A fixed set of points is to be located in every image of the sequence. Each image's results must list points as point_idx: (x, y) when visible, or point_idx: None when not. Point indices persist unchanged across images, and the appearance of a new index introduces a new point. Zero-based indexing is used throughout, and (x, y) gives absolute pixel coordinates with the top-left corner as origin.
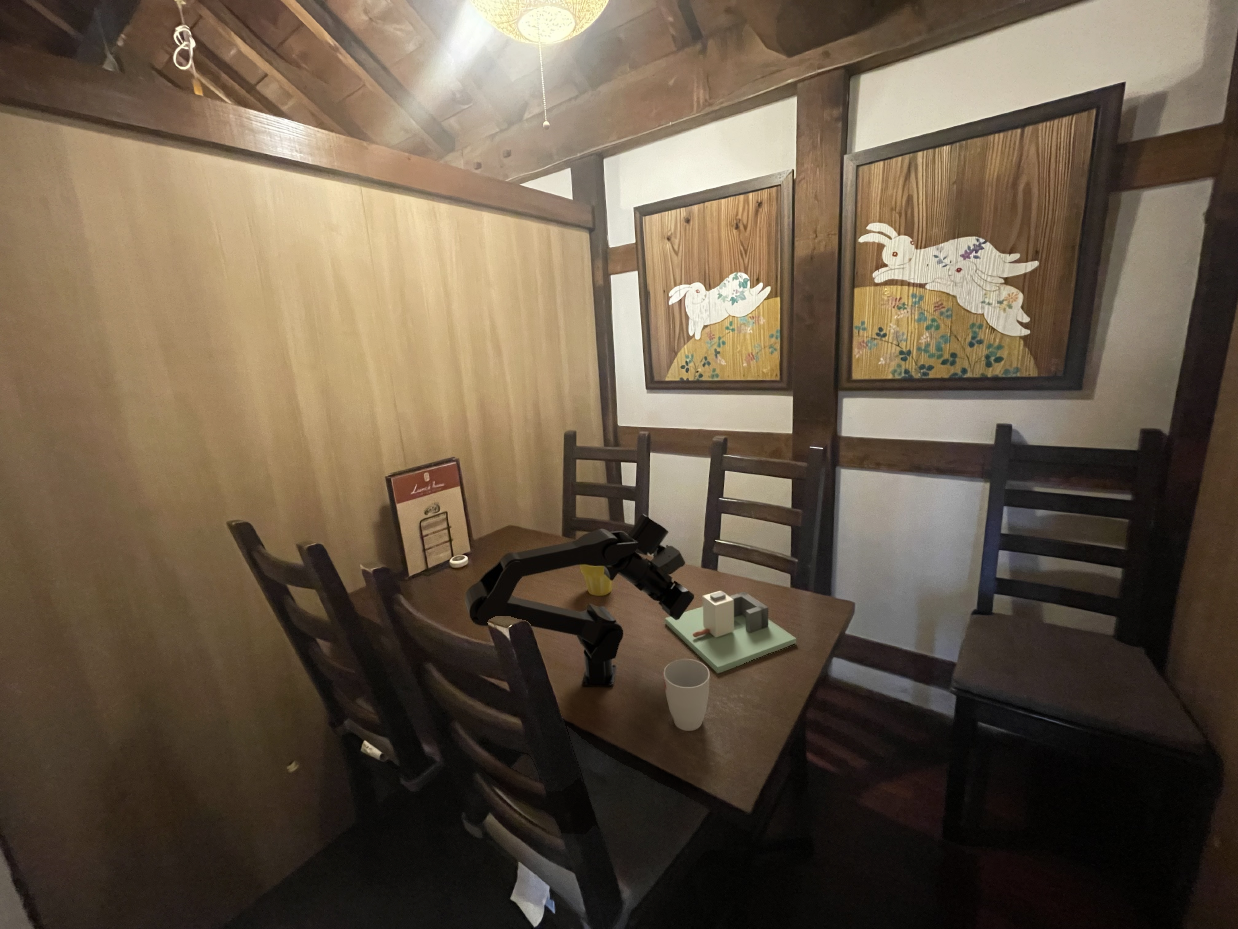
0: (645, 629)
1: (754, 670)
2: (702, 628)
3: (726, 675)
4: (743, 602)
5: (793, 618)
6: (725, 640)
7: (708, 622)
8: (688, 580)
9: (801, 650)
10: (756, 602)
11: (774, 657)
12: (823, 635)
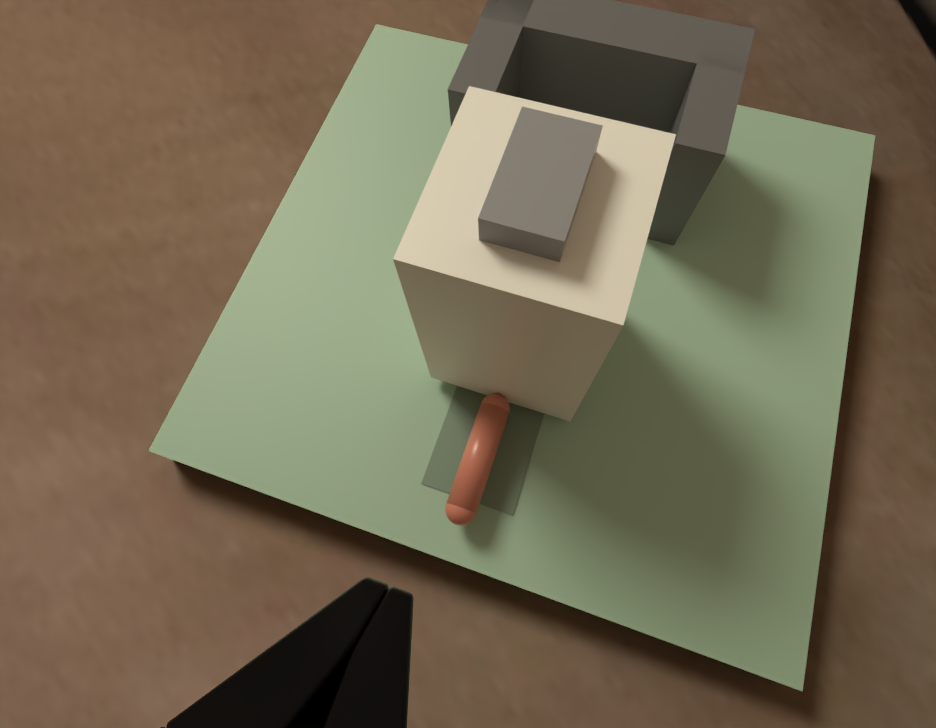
0: (90, 605)
1: (890, 490)
2: (427, 384)
3: (824, 655)
4: (541, 63)
5: (689, 7)
6: (622, 396)
7: (490, 374)
8: (52, 38)
9: (905, 185)
10: (653, 27)
11: (867, 316)
12: (878, 35)
